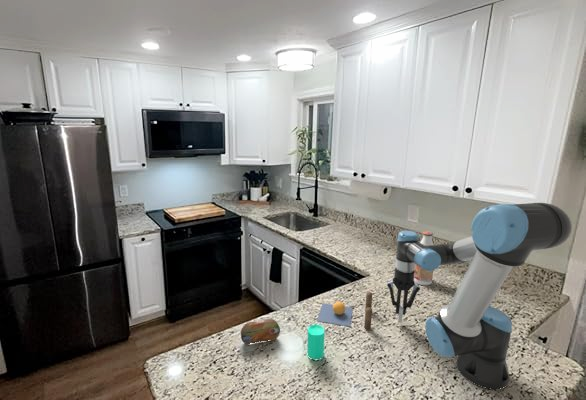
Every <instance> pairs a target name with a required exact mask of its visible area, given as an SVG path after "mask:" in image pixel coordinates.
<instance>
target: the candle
mask: <svg viewBox="0 0 586 400" xmlns="http://www.w3.org/2000/svg"><path fill="white" fill-rule="evenodd" d="M325 332H326V331H325V328H324V327H323V326H322V325H321V324H311V325H310V326H308V329H307V345H306V346H307V347H306V348H307V350H306V354H307V353H308V355H307V357H308V356H309V357H310V358H312V359H320V358H322V357H323V358H324V356H323V355H325V353H324V352H325ZM323 358H322V359H323Z"/></svg>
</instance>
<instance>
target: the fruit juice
mask: <svg viewBox="0 0 586 400" xmlns="http://www.w3.org/2000/svg"><path fill="white" fill-rule="evenodd" d="M433 237H434V233H433V232H431V231H427V230H426V231H423V232H422V239H421V241H419V242H420V243H421V244H423V245H426V246H427V245H435V244H434V242H433ZM414 271H415V274H414V282H415V284H416V285H419V286H420V285H421V286H430V285H432V282H433V279H434V278H433V276H434V271H426V270H424V269H422V268H420V267H419V266H417V265H416V264H415V270H414Z"/></svg>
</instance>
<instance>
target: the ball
mask: <svg viewBox="0 0 586 400" xmlns="http://www.w3.org/2000/svg"><path fill="white" fill-rule="evenodd" d="M332 305H333V311H334V313H335V314H337V315H341V314H343V313H344V312H345V307H346V306H345V304H344V303H343V302H341V301H336V302H335V303H333V304H332Z"/></svg>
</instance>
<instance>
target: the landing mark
mask: <svg viewBox="0 0 586 400" xmlns="http://www.w3.org/2000/svg"><path fill="white" fill-rule="evenodd" d="M333 305H334V304H329V303H322V304H321V307H320V311H319V313H318V316H317V321H316V322H319V321H320V323H325V322H326V324H331V323H333V325H337V324H338V325H337V326H343V325H345V326H344V327H349V326H350V327H351V324H352V315H353V307H350V306H345V312H344V313H343V314H341V315H337V314H335V313H334V311H333Z"/></svg>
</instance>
